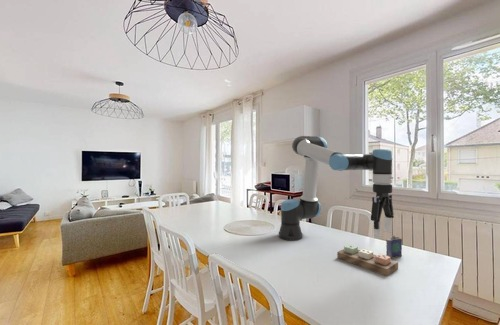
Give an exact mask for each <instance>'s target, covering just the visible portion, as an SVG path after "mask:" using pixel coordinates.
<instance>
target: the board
mask: <svg viewBox="0 0 500 325" xmlns="http://www.w3.org/2000/svg"><path fill="white" fill-rule="evenodd" d="M359 251H360V249H358V252H357V253H355V254H350V253H347V252H344V248H343V249H342V250H338V251H337V254H336V256H337V259H339V260H342V261H344V262H348V263H350V264H353V265H355V266H358V267H361V268H363V269H366V270H369V271H371V272H375V273H378V274H379V275H382V276H386V277H388V276H389V275H391V274H392V273H394V272H395V271H397V270H398V269H399V261H395V260H392V259H391V263H389V264H388V265H383V264H380V263H377V262H375V256H377V255H378V254H374V253H373V258H371V259H369V260H368V259H365V258H362V257H359Z"/></svg>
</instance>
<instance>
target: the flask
mask: <svg viewBox="0 0 500 325" xmlns="http://www.w3.org/2000/svg"><path fill="white" fill-rule="evenodd" d="M402 242H403V238H401V237H400V236H399V237H398V236H396V235H395V234H391V237H390V238H386V245H385V246H386V254H385V255H386V256H389V257H391V259H393V258H398V257H399V258H400V257H402V256H403V255H402V251H403V250H402V249H403V247H402V246H403V245H402Z"/></svg>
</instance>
